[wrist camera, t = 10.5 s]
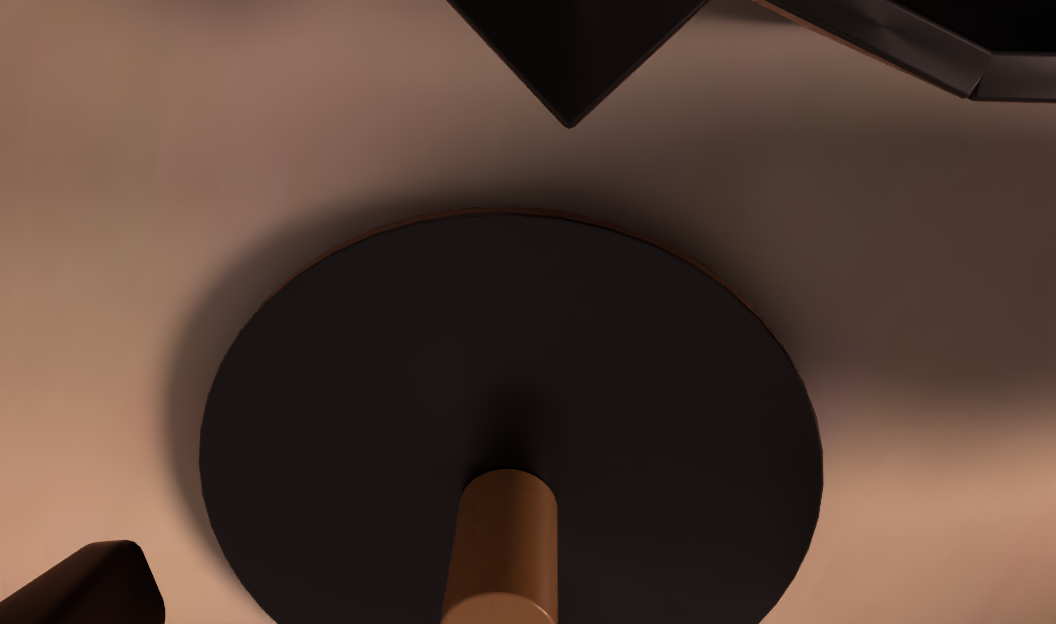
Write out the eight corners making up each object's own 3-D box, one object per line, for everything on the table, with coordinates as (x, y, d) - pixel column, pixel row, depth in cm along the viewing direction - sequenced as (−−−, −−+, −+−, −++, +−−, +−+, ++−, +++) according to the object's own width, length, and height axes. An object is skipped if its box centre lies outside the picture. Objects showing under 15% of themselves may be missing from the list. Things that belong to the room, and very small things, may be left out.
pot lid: (930, 493, 21) (1037, 659, 16) (506, 752, 26) (496, 934, 21) (516, 44, 16) (501, 96, 12) (97, 464, 21) (-29, 616, 16)
